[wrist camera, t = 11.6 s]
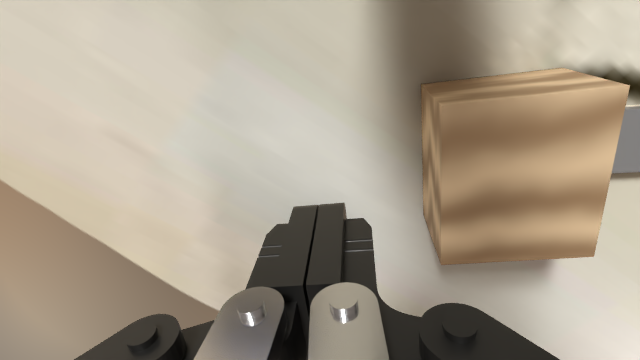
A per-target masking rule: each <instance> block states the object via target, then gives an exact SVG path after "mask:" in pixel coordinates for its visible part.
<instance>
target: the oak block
mask: <svg viewBox="0 0 640 360" xmlns="http://www.w3.org/2000/svg"><path fill="white" fill-rule="evenodd" d="M629 87H630V86H629V85H625V84H622V83H618V82H614V81H610V80H606V79H603V78H599V77H595V76H591V75H587V74H584V73H580V72H576V71H572V70H568V69H565V68H556V69H548V70H539V71H530V72H522V73H513V74H505V75H496V76H487V77H479V78H470V79H462V80H453V81H444V82H436V83H427V84H421V109H422V164H423V215H424V218H425V220H426V223H427V226H428V229H429V232H430V235H431V237H432V240H433V243H434V246H435V249H436V252H437V254H438V257H439V260H440V263H441V265H449V264H467V263H486V262H504V261H523V260H541V259H560V258H578V257H594V253H595V249H596V244H597V239H598V234H599V230H600V225H601V220H602V215H603V211H604V206H605V201H606V196H607V192H608V187H609V182H610V177H611V173H612V168H613V163H614V158H615V154H616V149H617V144H618V139H619V135H620V130H621V125H622V120H623V116H624V111H625V106H626V101H627V97H628V92H629Z"/></svg>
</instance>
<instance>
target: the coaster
mask: <svg viewBox="0 0 640 360" xmlns="http://www.w3.org/2000/svg"><path fill="white" fill-rule="evenodd" d="M629 172H640V105H628V106H625V111H624V116H623V120H622V125H621V130H620V135H619V139H618V144H617V149H616V154H615V158H614V163H613V168H612V173H629Z"/></svg>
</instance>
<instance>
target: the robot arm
mask: <svg viewBox="0 0 640 360" xmlns="http://www.w3.org/2000/svg"><path fill="white" fill-rule="evenodd" d="M74 360H560V359H558V358H556V357H555V356H553V355H552V354H550V353H548V352H547V351H545V350H544V349H542V348H540V347H539V346H537V345H535V344H534V343H532V342H531V341H529V340H527V339H526V338H524V337H523V336H521V335H519V334H518V333H516V332H515V331H513V330H511V329H510V328H508V327H507V326H505V325H503V324H502V323H500V322H499V321H497V320H495V319H494V318H492V317H491V316H489V315H487V314H486V313H484V312H482V311H481V310H479V309H477V308H474V307H472V306H468V305H465V304H459V303H445V304H440V305H437V306H434V307H432V308H431V309H429V310H428V311H426V312H425V313H424V315H423V316H422V317H417V316H412V315H408V314H404V313H401V312H399V311H396V310H394V309H392V308H391V307H389V306H388V305H387V304H385V302H384V301H383V300H382V299H381V298H380V296H379V294H378V291H377V284H376V273H375V262H374V250H373V239H372V228H371V226H370V225H369V224H368V223H367V222H366V221H365V219H364V218H357V219H347V218H346V209H345V204H344V203H335V204H322V205H310V206H297V207H293V210H292V213H291V217H290V220H289V223H288V224H277V225H276V226H275V227H274V228H273V229H272V230H271V231H270V232H269V233H268V234H267V235H266V238H265V240H264V243H263V245H262V248H261V251H260V253H259V258H257V261H256V263H255V266H254V269H253V271H252V274H251V276H250V279H249V282H248V284H247V287H246V289H245V290H243V291H241V292H239V293H237V294H235V295H234V296H232V297H231V298H230V299H229V300H227V301H226V303H225V304H224V305H223V306H222V308H221V310H220V312H219V313H218V315H217V317H216V319H215V320H213V321H210V322H207V323H204V324H200V325H197V326H193V327H190V328H187V329H183V330H181V328H180V325H179V323H178V321H177V320H176V318H174V317H173V316H170V315H166V314H156V315H151V316H148V317H145V318H142V319H139V320H137V321H135V322H134V323H132V324H130V325H128V326H127V327H125V328H124V329H122V330H121V331H119V332H117V333H116V334H114V335H113V336H111V337H110V338H108V339H106V340H105V341H103V342H101V343H100V344H98V345H97V346H95V347H94V348H92V349H90V350H89V351H87V352H86V353H84V354H83V355H81V356H79V357H78V358H76V359H74Z"/></svg>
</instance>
